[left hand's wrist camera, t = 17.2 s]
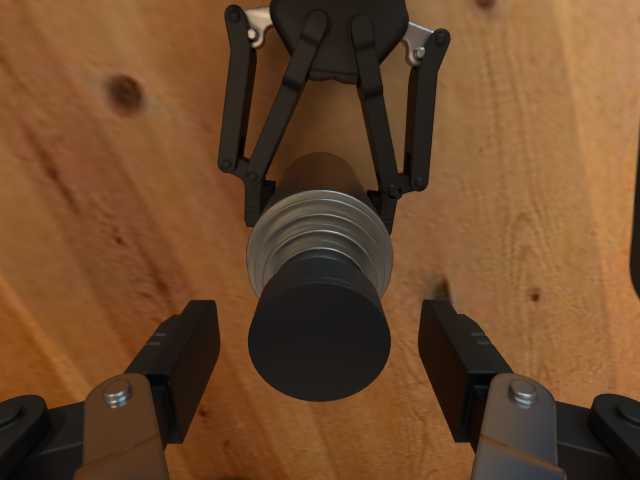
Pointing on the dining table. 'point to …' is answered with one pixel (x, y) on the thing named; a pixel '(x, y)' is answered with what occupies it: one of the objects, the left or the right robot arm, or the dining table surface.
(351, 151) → the dining table surface
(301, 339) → the cap
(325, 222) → the bottle
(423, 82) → the right robot arm
